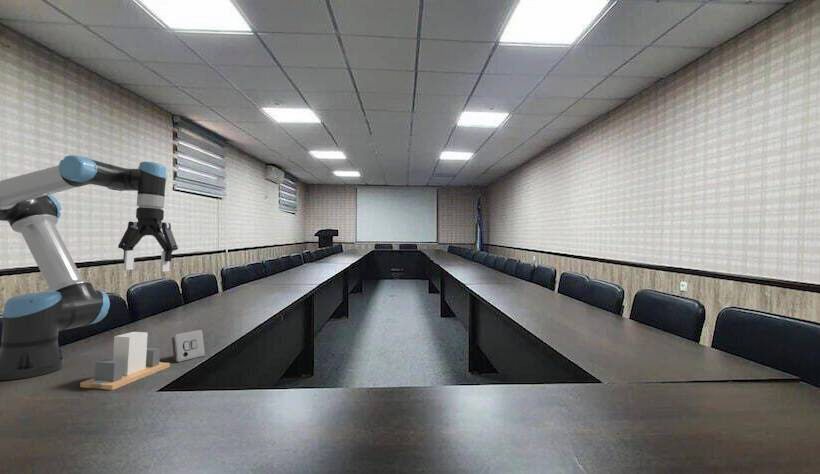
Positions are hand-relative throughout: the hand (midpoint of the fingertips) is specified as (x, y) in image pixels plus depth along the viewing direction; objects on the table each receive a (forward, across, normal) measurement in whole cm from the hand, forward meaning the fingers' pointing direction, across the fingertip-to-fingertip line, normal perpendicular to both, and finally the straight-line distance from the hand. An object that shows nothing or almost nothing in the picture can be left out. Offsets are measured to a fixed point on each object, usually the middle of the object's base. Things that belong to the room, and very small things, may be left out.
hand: (146, 270), depth 117 cm
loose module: (+29, -8, +12) cm, 32 cm away
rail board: (+31, -8, +12) cm, 34 cm away
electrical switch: (+31, -11, -7) cm, 33 cm away
